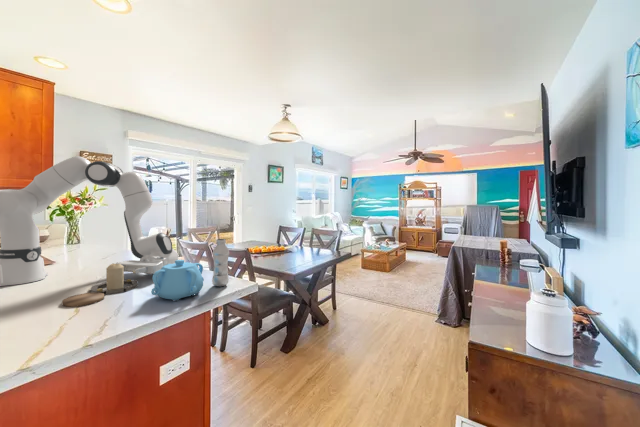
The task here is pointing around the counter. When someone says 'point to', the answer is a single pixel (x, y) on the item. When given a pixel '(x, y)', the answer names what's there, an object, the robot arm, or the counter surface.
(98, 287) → the collar
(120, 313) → the counter surface
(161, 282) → the decorative pot
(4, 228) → the robot arm
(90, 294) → the coaster
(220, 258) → the plastic bottle
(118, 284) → the candle
